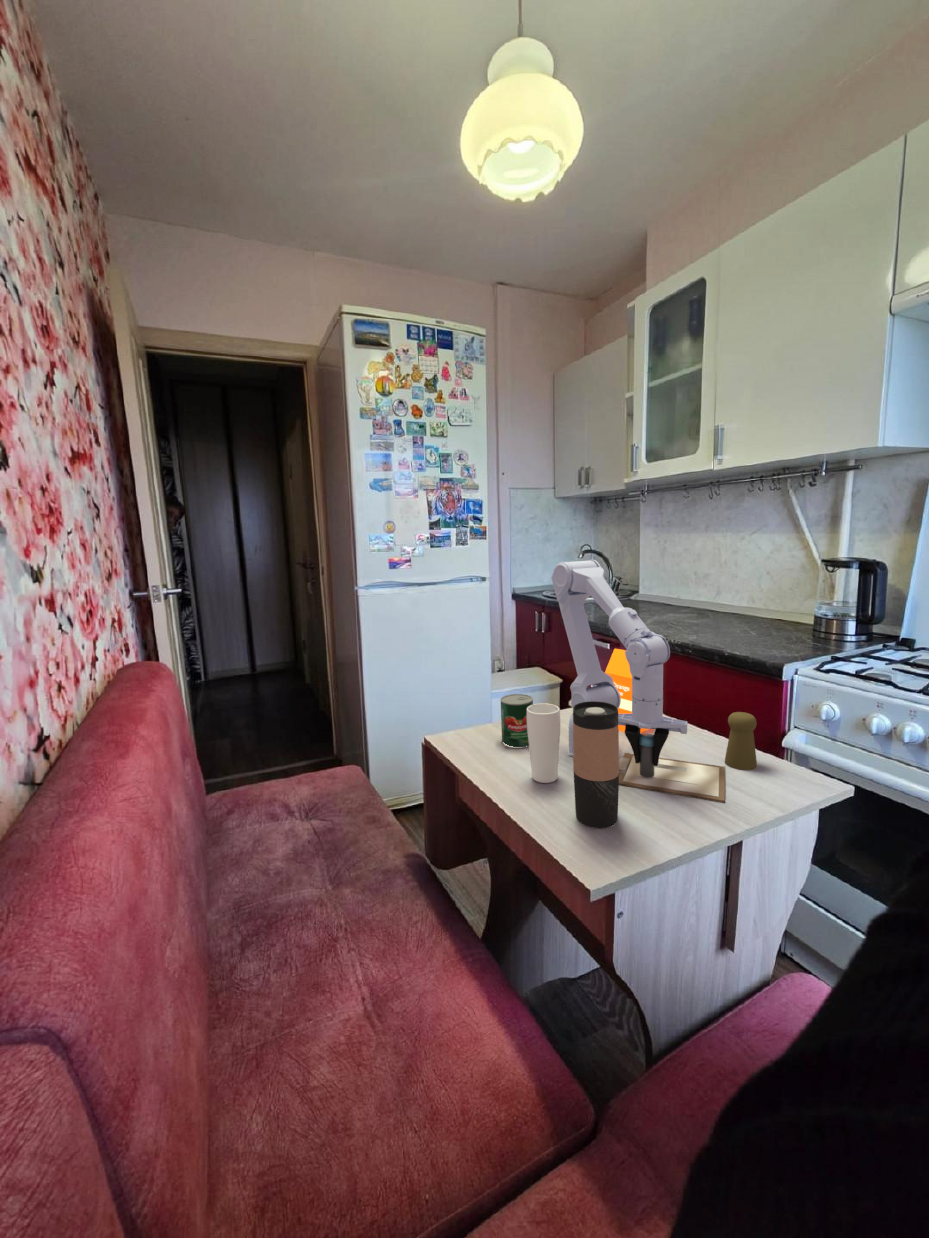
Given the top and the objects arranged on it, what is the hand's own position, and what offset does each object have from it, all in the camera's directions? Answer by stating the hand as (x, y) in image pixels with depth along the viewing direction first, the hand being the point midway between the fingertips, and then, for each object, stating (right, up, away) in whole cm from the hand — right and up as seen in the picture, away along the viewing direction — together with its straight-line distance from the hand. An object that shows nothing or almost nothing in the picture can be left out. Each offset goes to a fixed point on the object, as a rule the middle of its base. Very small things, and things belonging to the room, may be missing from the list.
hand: (646, 762), depth 102 cm
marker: (0, -2, 0) cm, 2 cm away
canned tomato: (-23, -2, +23) cm, 33 cm away
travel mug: (-13, -6, -13) cm, 19 cm away
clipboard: (+5, -3, +1) cm, 6 cm away
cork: (+22, -2, +5) cm, 22 cm away
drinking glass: (-20, -4, +3) cm, 21 cm away
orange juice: (+6, +1, +29) cm, 29 cm away
